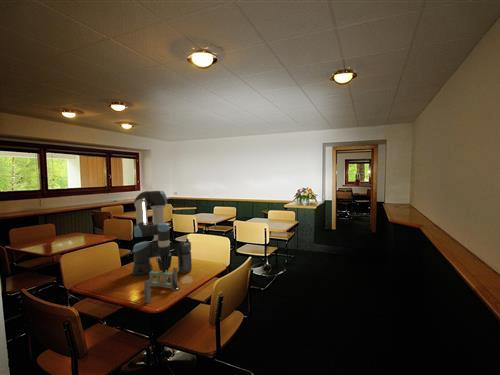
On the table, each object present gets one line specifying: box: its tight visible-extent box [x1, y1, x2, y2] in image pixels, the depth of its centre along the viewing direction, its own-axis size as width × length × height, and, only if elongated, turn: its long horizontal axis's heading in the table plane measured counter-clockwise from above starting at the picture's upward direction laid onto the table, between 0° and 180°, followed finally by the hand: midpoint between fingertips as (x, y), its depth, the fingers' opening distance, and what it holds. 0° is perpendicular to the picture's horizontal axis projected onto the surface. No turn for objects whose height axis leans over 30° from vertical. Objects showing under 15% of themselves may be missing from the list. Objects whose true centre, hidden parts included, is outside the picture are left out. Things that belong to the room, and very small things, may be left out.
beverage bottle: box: [177, 238, 193, 274], centre depth 194 cm, size 10×13×25 cm
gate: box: [148, 270, 174, 289], centre depth 167 cm, size 17×3×9 cm, turn 76°
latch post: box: [142, 279, 152, 304], centre depth 147 cm, size 3×3×13 cm
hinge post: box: [170, 266, 181, 292], centre depth 164 cm, size 6×6×15 cm
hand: (165, 279), depth 171 cm, fingers closed
